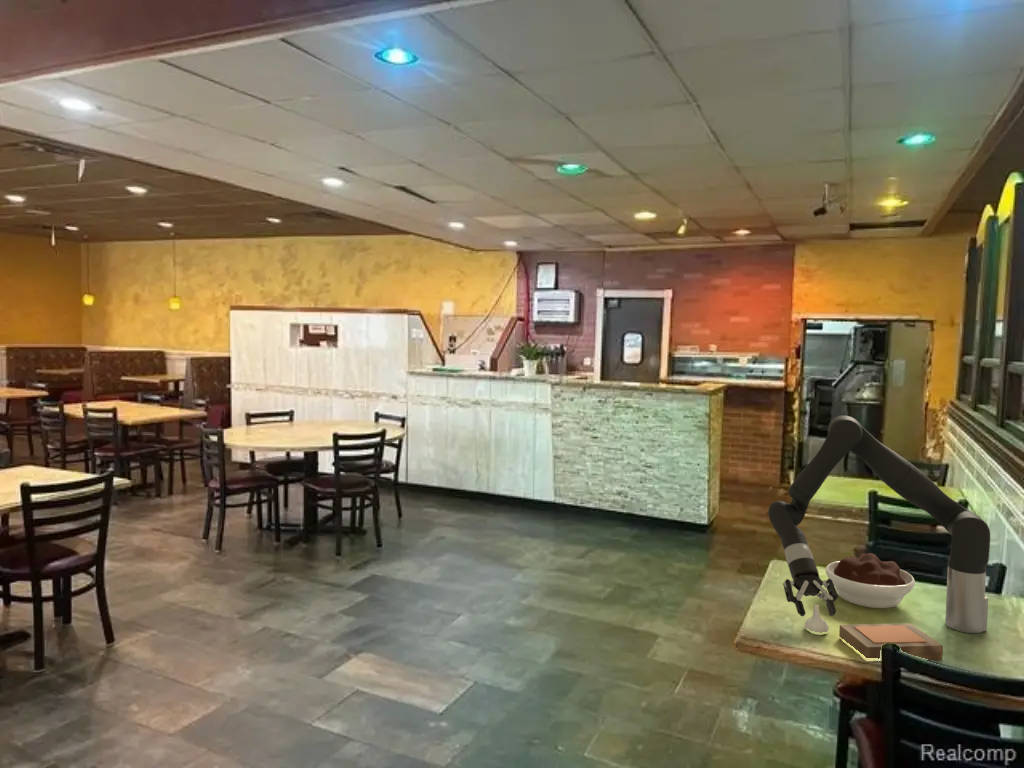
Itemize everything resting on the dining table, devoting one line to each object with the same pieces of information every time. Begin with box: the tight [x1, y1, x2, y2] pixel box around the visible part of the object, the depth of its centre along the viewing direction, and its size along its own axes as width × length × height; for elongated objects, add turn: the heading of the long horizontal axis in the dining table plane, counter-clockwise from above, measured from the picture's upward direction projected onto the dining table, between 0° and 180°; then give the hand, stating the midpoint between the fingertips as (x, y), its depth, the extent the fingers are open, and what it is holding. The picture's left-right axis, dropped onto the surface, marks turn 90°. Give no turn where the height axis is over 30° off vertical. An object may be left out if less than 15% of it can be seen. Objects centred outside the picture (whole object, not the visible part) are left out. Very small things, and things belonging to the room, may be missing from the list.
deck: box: [838, 623, 944, 662], centre depth 186 cm, size 20×14×4 cm
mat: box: [854, 626, 927, 643], centre depth 186 cm, size 14×10×1 cm
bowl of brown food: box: [825, 552, 916, 609], centre depth 220 cm, size 25×25×15 cm
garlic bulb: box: [804, 604, 829, 633], centre depth 198 cm, size 6×6×8 cm
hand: (818, 615), depth 197 cm, fingers open, 8 cm apart
